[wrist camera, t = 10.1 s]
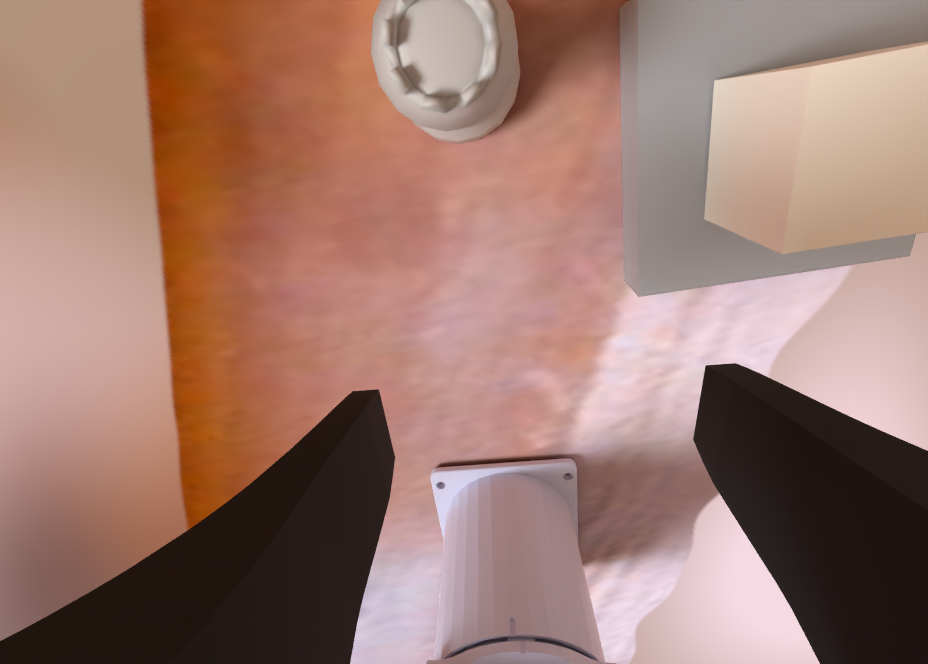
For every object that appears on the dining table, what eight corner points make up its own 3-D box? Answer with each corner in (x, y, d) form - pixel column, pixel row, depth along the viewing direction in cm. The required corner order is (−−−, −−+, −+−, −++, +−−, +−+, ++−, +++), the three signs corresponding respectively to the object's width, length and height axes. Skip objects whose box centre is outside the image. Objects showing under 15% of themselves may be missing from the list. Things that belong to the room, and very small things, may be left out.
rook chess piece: (491, -25, 15) (503, -163, 7) (536, 112, 16) (580, 106, 9) (375, 40, 15) (286, -28, 8) (430, 163, 17) (394, 194, 10)
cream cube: (834, 197, 16) (960, 226, 12) (704, 219, 16) (781, 254, 12) (863, 51, 14) (1028, 24, 10) (714, 80, 14) (811, 66, 10)
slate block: (857, 239, 19) (909, 255, 16) (620, 276, 20) (638, 296, 17) (922, -56, 14) (1005, -89, 12) (614, 11, 15) (637, -7, 13)
